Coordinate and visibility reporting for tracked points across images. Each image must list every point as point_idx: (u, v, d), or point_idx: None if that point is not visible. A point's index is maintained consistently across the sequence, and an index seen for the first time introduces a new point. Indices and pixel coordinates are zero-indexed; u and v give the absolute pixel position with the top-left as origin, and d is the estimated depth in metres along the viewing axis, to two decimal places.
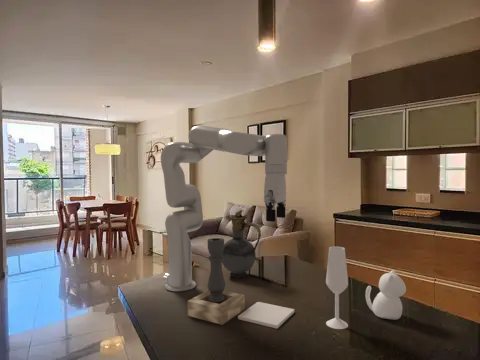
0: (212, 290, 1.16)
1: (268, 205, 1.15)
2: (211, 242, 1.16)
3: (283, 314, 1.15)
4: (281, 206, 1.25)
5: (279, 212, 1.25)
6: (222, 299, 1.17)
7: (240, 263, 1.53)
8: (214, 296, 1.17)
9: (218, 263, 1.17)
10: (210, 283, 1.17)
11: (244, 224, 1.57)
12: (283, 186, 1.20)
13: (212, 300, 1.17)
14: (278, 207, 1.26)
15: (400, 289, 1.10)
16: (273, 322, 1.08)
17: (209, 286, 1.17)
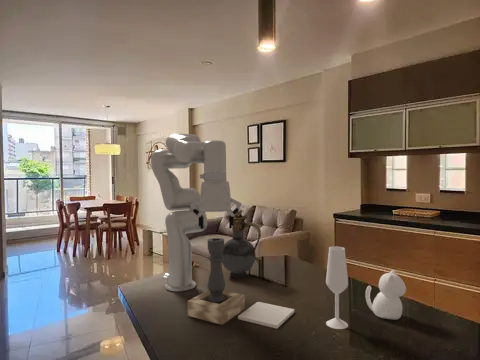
0: (212, 290, 1.16)
1: (237, 211, 1.18)
2: (211, 242, 1.16)
3: (283, 314, 1.15)
4: (202, 216, 1.18)
5: (202, 223, 1.17)
6: (222, 299, 1.17)
7: (240, 263, 1.53)
8: (214, 296, 1.17)
9: (218, 263, 1.17)
10: (210, 283, 1.17)
11: (244, 224, 1.57)
12: None
13: (212, 300, 1.17)
14: (202, 218, 1.17)
15: (400, 289, 1.10)
16: (273, 322, 1.08)
17: (209, 286, 1.17)
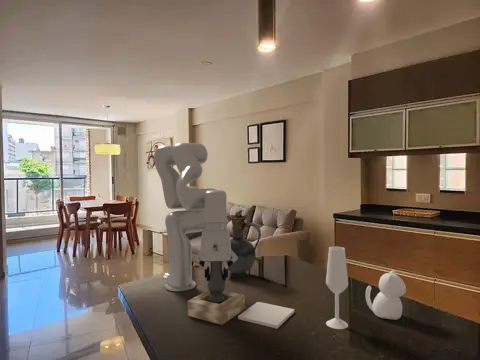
0: (212, 290, 1.16)
1: None
2: None
3: (283, 314, 1.15)
4: (208, 267, 1.19)
5: (208, 274, 1.18)
6: (222, 299, 1.17)
7: (240, 263, 1.53)
8: (214, 296, 1.17)
9: (218, 263, 1.17)
10: (210, 283, 1.17)
11: (244, 224, 1.57)
12: None
13: (212, 300, 1.17)
14: (208, 269, 1.18)
15: (400, 289, 1.10)
16: (273, 322, 1.08)
17: (209, 286, 1.17)
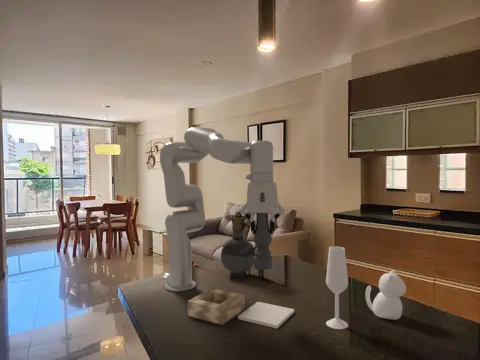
0: (259, 243, 1.13)
1: None
2: None
3: (283, 314, 1.15)
4: (254, 221, 1.16)
5: None
6: (269, 253, 1.14)
7: (240, 263, 1.53)
8: (261, 249, 1.14)
9: (265, 216, 1.13)
10: (257, 236, 1.13)
11: (244, 224, 1.57)
12: None
13: (259, 253, 1.13)
14: (254, 223, 1.15)
15: (400, 289, 1.10)
16: (273, 322, 1.08)
17: (256, 239, 1.13)
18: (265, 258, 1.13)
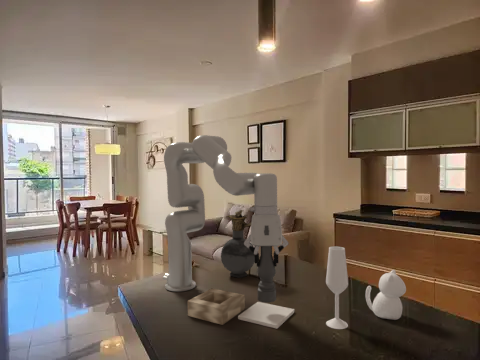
0: (263, 275, 1.13)
1: None
2: None
3: (283, 314, 1.15)
4: (258, 253, 1.16)
5: (258, 260, 1.15)
6: (273, 285, 1.14)
7: (240, 263, 1.53)
8: (265, 282, 1.14)
9: (269, 248, 1.14)
10: (261, 269, 1.13)
11: (244, 224, 1.57)
12: None
13: (263, 286, 1.13)
14: (258, 255, 1.15)
15: (400, 289, 1.10)
16: (273, 322, 1.08)
17: (260, 272, 1.14)
18: (269, 291, 1.13)
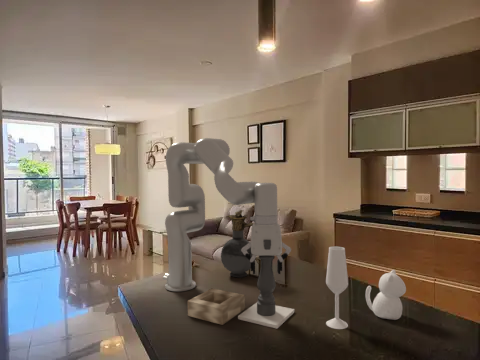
0: (263, 289, 1.13)
1: None
2: (263, 240, 1.13)
3: (283, 314, 1.15)
4: None
5: None
6: (272, 299, 1.14)
7: (240, 263, 1.53)
8: (264, 296, 1.14)
9: (270, 262, 1.14)
10: (261, 282, 1.14)
11: (244, 224, 1.57)
12: None
13: (262, 300, 1.14)
14: (254, 262, 1.15)
15: (400, 289, 1.10)
16: (273, 322, 1.08)
17: (260, 285, 1.14)
18: (268, 304, 1.13)
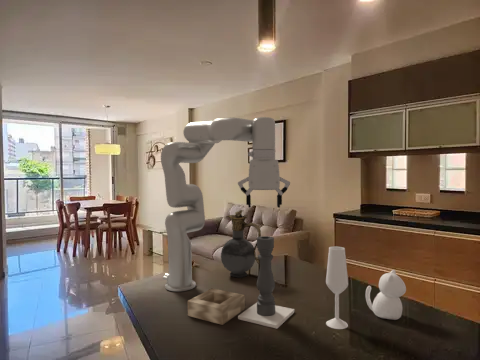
0: (263, 289, 1.13)
1: None
2: (261, 240, 1.13)
3: (283, 314, 1.15)
4: (250, 195, 1.16)
5: (250, 201, 1.15)
6: (272, 299, 1.14)
7: (240, 263, 1.53)
8: (264, 296, 1.14)
9: (268, 262, 1.14)
10: (260, 282, 1.14)
11: (244, 224, 1.57)
12: None
13: (262, 300, 1.14)
14: None
15: (400, 289, 1.10)
16: (273, 322, 1.08)
17: (259, 285, 1.14)
18: (268, 304, 1.14)
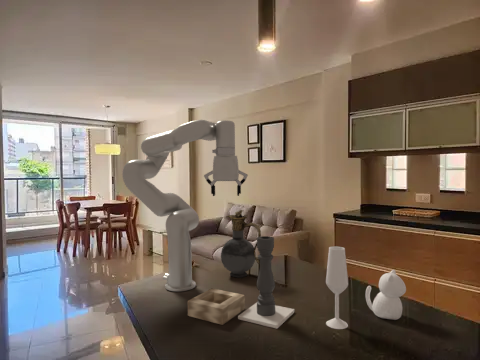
0: (263, 289, 1.13)
1: None
2: (261, 240, 1.13)
3: (283, 314, 1.15)
4: None
5: (214, 191, 1.38)
6: (272, 299, 1.14)
7: (240, 263, 1.53)
8: (264, 296, 1.14)
9: (268, 262, 1.14)
10: (260, 282, 1.14)
11: (244, 224, 1.57)
12: None
13: (262, 300, 1.14)
14: (214, 186, 1.37)
15: (400, 289, 1.10)
16: (273, 322, 1.08)
17: (259, 285, 1.14)
18: (268, 304, 1.14)
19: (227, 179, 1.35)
